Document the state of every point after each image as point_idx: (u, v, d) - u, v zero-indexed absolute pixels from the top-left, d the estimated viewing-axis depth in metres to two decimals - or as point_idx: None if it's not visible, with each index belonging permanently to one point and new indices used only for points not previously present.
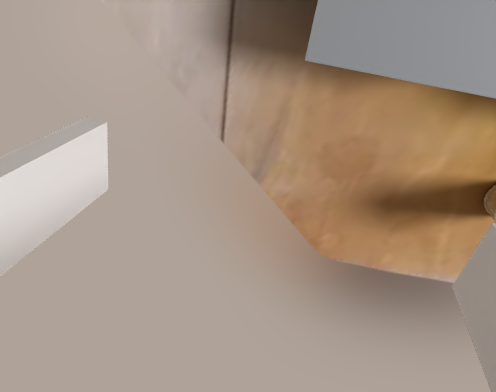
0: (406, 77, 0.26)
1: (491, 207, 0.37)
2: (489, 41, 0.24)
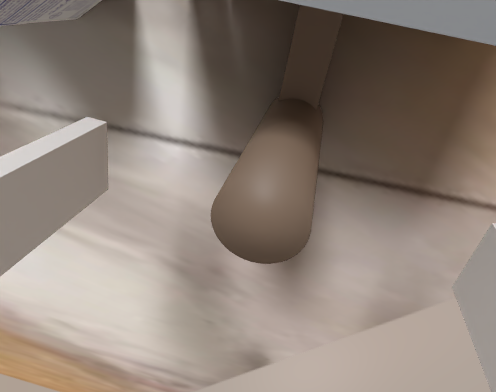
0: None
1: None
2: None
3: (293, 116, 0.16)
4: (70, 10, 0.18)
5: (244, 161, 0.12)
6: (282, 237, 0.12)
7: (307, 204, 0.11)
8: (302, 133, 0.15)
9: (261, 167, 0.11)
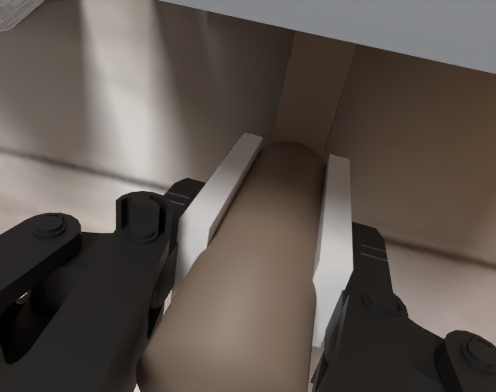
0: None
1: None
2: None
3: (286, 175, 0.11)
4: None
5: (198, 278, 0.08)
6: None
7: (298, 380, 0.06)
8: (297, 211, 0.10)
9: (218, 307, 0.07)
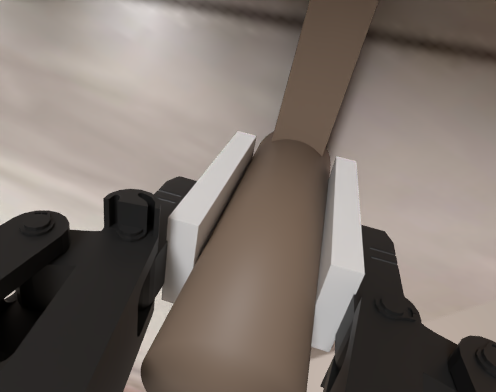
0: None
1: None
2: None
3: (288, 175, 0.11)
4: None
5: (202, 279, 0.08)
6: None
7: (299, 381, 0.07)
8: (298, 212, 0.10)
9: (224, 310, 0.07)
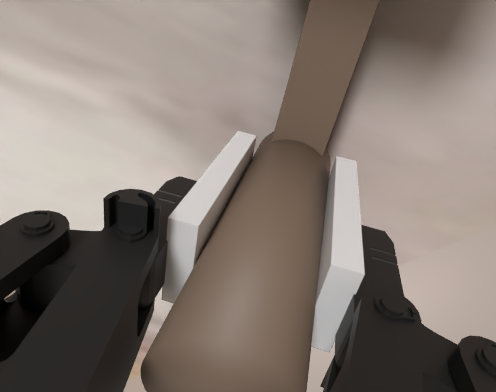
0: None
1: None
2: None
3: (289, 175, 0.11)
4: None
5: (202, 279, 0.08)
6: None
7: (299, 382, 0.07)
8: (299, 212, 0.10)
9: (224, 310, 0.07)
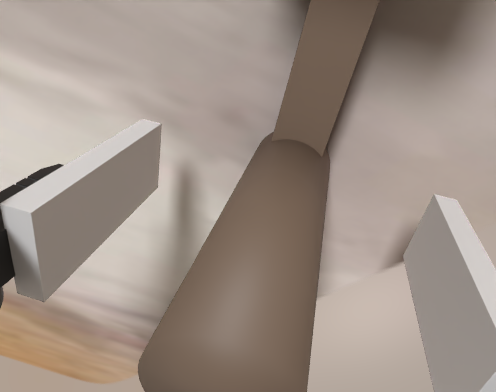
0: None
1: None
2: None
3: (288, 174, 0.11)
4: None
5: (202, 275, 0.08)
6: None
7: (299, 378, 0.06)
8: (299, 210, 0.10)
9: (223, 305, 0.07)
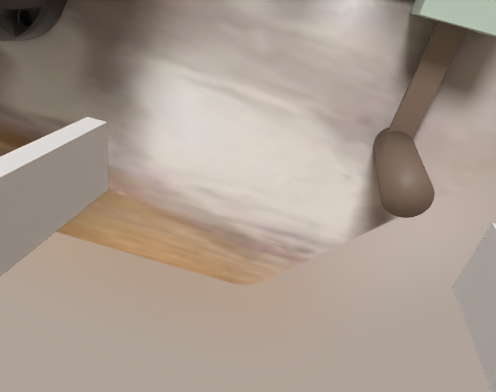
0: None
1: None
2: None
3: (406, 142, 0.28)
4: None
5: (396, 165, 0.24)
6: (417, 203, 0.24)
7: None
8: (416, 153, 0.27)
9: (410, 168, 0.23)
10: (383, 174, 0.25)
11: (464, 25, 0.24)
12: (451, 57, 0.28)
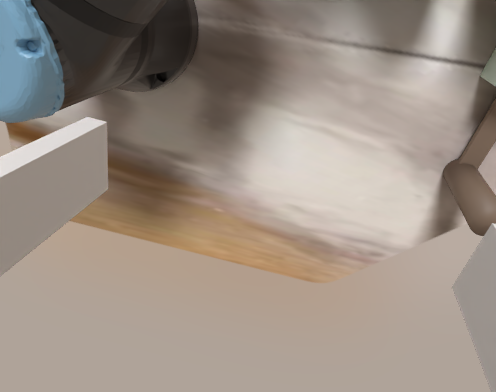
0: None
1: None
2: None
3: (477, 175, 0.37)
4: None
5: (479, 198, 0.34)
6: None
7: None
8: (487, 185, 0.36)
9: (491, 202, 0.33)
10: (468, 204, 0.34)
11: None
12: None
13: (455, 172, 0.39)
